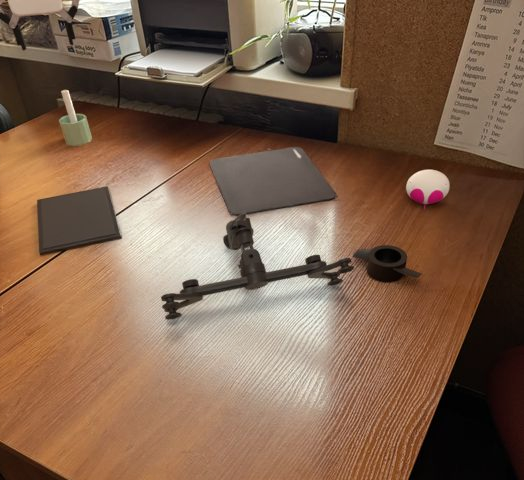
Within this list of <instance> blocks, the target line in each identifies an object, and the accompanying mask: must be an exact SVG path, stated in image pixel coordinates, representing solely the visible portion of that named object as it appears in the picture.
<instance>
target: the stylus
mask: <svg viewBox="0 0 524 480" xmlns="http://www.w3.org/2000/svg"><path fill="white" fill-rule="evenodd" d="M60 93H61V96H62V99H63V102H64V105H65V109H66V112H67V115H68V116H69V119H70V122H71V123H74V122H78V121H77V118H76V115H75V114H76V111H75V108H74V105H73V102H72V97H71V94H70V91H69V90H68V89H63V90H61V91H60Z"/></svg>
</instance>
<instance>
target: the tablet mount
mask: <svg viewBox="0 0 524 480" xmlns="http://www.w3.org/2000/svg"><path fill="white" fill-rule="evenodd" d="M225 230H226V231H225V232H226V234H224V236H223V238H222V241H223V244H224V246H225V248H227V249H228V250H231V251H237V250H240V251H241V253H240V259H239V264H238V265H237V267H238V269H239V274H240V277H237V278H232V279H227V280H222V281H221V280H220V281H217V282H210V283H206V284H202V285H200V284H199V280H198V279H197V278H190V279H187V280H185V281H182V282H181V286H182V289H180V291H179V293H174V292H170V293H169V292H168V293H165V294H162V295H161V296H160V300H161V301H162V302H165V303H164V304H163V305H162V306H161V308H162V309H163V310H164V312H165V313H168V314H166V315H165V316H164V318H165V319H166V320H175V319H179V318H180V317H182V313H181V312H177V311H178V310H179V309H182V308H185V307H188V306H190V305H193V304H196V303H199V302H202V301H203V300H204V297H205V296H209V295H214V294H219V293H220V294H221V293H225V292H229V291H233V290H234V291H235V290H238V289H245V290H246V291H254V290H259V289H262V288H264V287H265V286H267V285H268V284H269V283H274V282H279V281H283V280H289V279H293V278H297V277H298V278H299V277H303V276H307V278H308V279H327V280H330V281H328V282H327V286H329V287H333V286H338V285H340V284H341V283H343V281H344V279H343V278H338V277H340V276H341V275H342V274H347V273H350V272H352V271H354V270H355V266H354V265H349V264H351V263H352V258H351V257H345V258H341V259H339V260H337V261H335V262H332V263H329V264H327V262H326V261H325V260H322V257H321V255H320V254H313V255H310V256H307V257H306V258H304V262H305V264H302V265H297V266H292V267H286V268H281V269H276V270H271V271H268V272H267V269H266V267H265V263H263V261H262V257H261V253H260V252H259V251H258V249H256V248H255V247H254V244H255V241H254V237H253V236H254V228H253V227H252V223H251V219H250V217H247V214H241V215H236V216H235V218H234V219H233V220H229V221H228V222H227V223H226V225H225ZM339 267H340V268H339ZM336 268H339V269H338V270H337V271H331V270H334V269H336ZM330 271H331V272H330Z"/></svg>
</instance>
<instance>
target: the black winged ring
mask: <svg viewBox="0 0 524 480" xmlns="http://www.w3.org/2000/svg"><path fill="white" fill-rule="evenodd" d="M352 258H354V259H359V260H362V261H364V262H366V263H367V265H366V273H367V275H368V277H370V278H371V279H372V280H374V281H376V282H380V283H389V284H390V283H394V282H398V281H400V280H401V279H403V278H404V276H408V277H411V278H416V279H418V278H420V276H422V273H421V272H418V271H415V270H413V269H410V268H408V267H407V261H408V254H407V252H406V251H405V250H404V249H402V248H400V247H398V246H396V245H395V246H394V245H391V244H390V245H389V244H388V245H387V244H382V245H378V246H375V247H370V248H362V249H361V248H360V249H357V250H356V251H355V252H354V253H353V255H352Z"/></svg>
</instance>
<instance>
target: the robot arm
mask: <svg viewBox="0 0 524 480" xmlns="http://www.w3.org/2000/svg"><path fill="white" fill-rule="evenodd" d="M4 2H6V0H0V5H2V4H3V3H4ZM7 3H8V6H9V9H10V11H11V13H12V14H11V16H9V15H8V14H6V12H4V11H3V9H2V8H1V7H0V20H1V21H2V22H4V23H5V24H6V25H7V26H9V27H10V28H11V29H12V33H13V35H14V38H15V41H16V42H15V43H16V44H17V46H20V47H21V50H22V51H26V50H27V45H26V41H25V39H24V38H25V37H24V35H23V31H22V28H21V26H20V25H19V23H18V22H19V20H20V17H30V16H40V15H42V16H43V15H51V14H58V15H59V16H60V17H62V18H63V20H64V21H63V23H64V27H65V30H66V34H67V38H68V43H69V45H71V46H74V41H73V40H76V35H75V31H74V27H73V20H74V18H75V17H76V14H77V13H78V9H79V6H80V5H79V4H80V0H71V3H70V4H71V5H70V7H69V9H68V11H67V10H66V9H65V7H63V6H64V5H63V0H7Z"/></svg>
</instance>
